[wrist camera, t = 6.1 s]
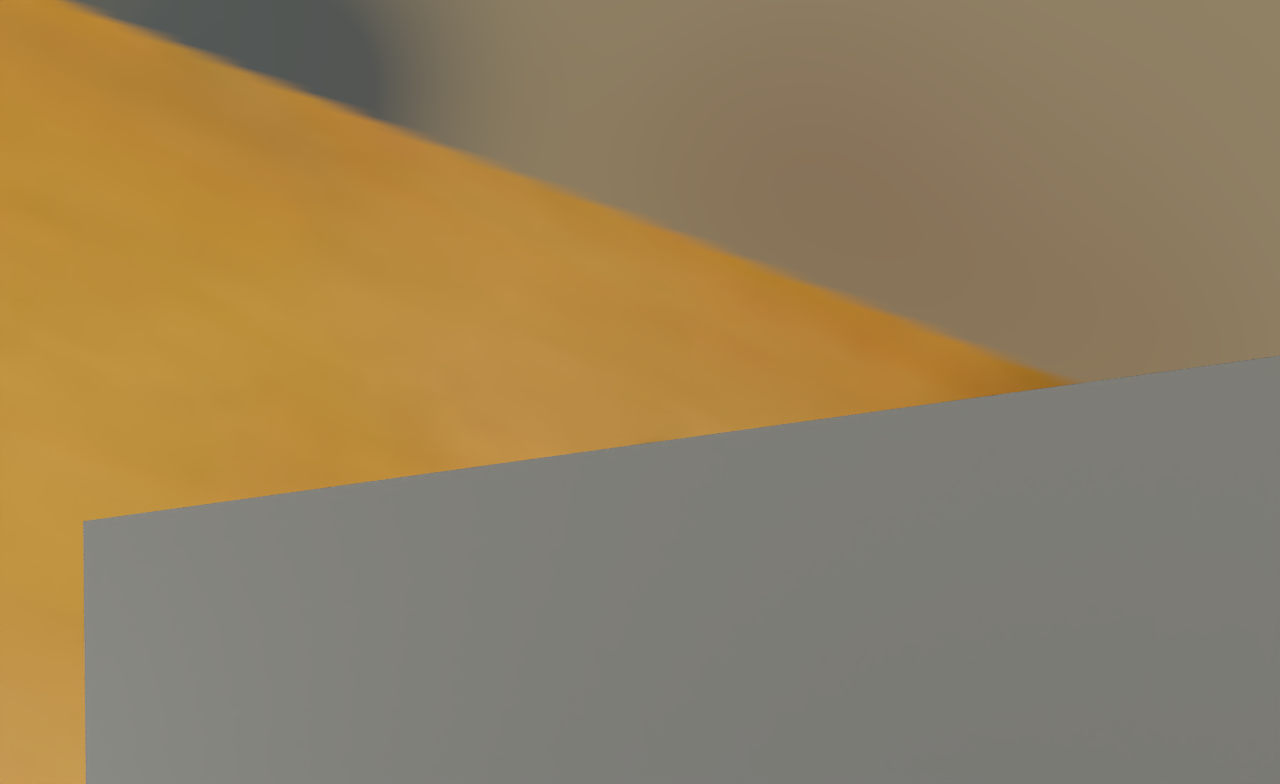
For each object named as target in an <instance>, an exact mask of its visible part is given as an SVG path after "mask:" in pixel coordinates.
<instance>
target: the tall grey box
mask: <svg viewBox="0 0 1280 784" xmlns="http://www.w3.org/2000/svg"><path fill="white" fill-rule="evenodd" d="M83 533H84V633H85V733H86V784H1280V356H1274V357H1267V358H1260V359H1252V360H1245V361H1238V362H1231V363H1224V364H1216V365H1209V366H1202V367H1195V368H1187V369H1180V370H1173V371H1166V372H1159V373H1151V374H1145V375H1137V376H1130V377H1123V378H1115V379H1108V380H1101V381H1094V382H1086V383H1079V384H1072V385H1065V386H1057V387H1050V388H1043V389H1036V390H1029V391H1021V392H1014V393H1007V394H1000V395H992V396H985V397H978V398H971V399H964V400H956V401H949V402H942V403H935V404H927V405H920V406H913V407H906V408H899V409H891V410H884V411H877V412H870V413H862V414H855V415H848V416H841V417H834V418H826V419H819V420H812V421H805V422H797V423H790V424H783V425H776V426H769V427H761V428H754V429H747V430H740V431H732V432H725V433H718V434H711V435H704V436H696V437H689V438H682V439H675V440H667V441H660V442H653V443H646V444H638V445H631V446H624V447H617V448H610V449H602V450H595V451H588V452H581V453H573V454H566V455H559V456H552V457H545V458H537V459H530V460H523V461H516V462H508V463H501V464H494V465H487V466H480V467H472V468H465V469H458V470H451V471H443V472H436V473H429V474H422V475H415V476H407V477H400V478H393V479H386V480H378V481H371V482H364V483H357V484H350V485H342V486H335V487H328V488H321V489H313V490H306V491H299V492H292V493H285V494H277V495H270V496H263V497H256V498H248V499H241V500H234V501H227V502H220V503H212V504H205V505H198V506H191V507H183V508H176V509H169V510H162V511H155V512H147V513H140V514H133V515H126V516H118V517H111V518H104V519H97V520H90V521H83Z"/></svg>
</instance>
